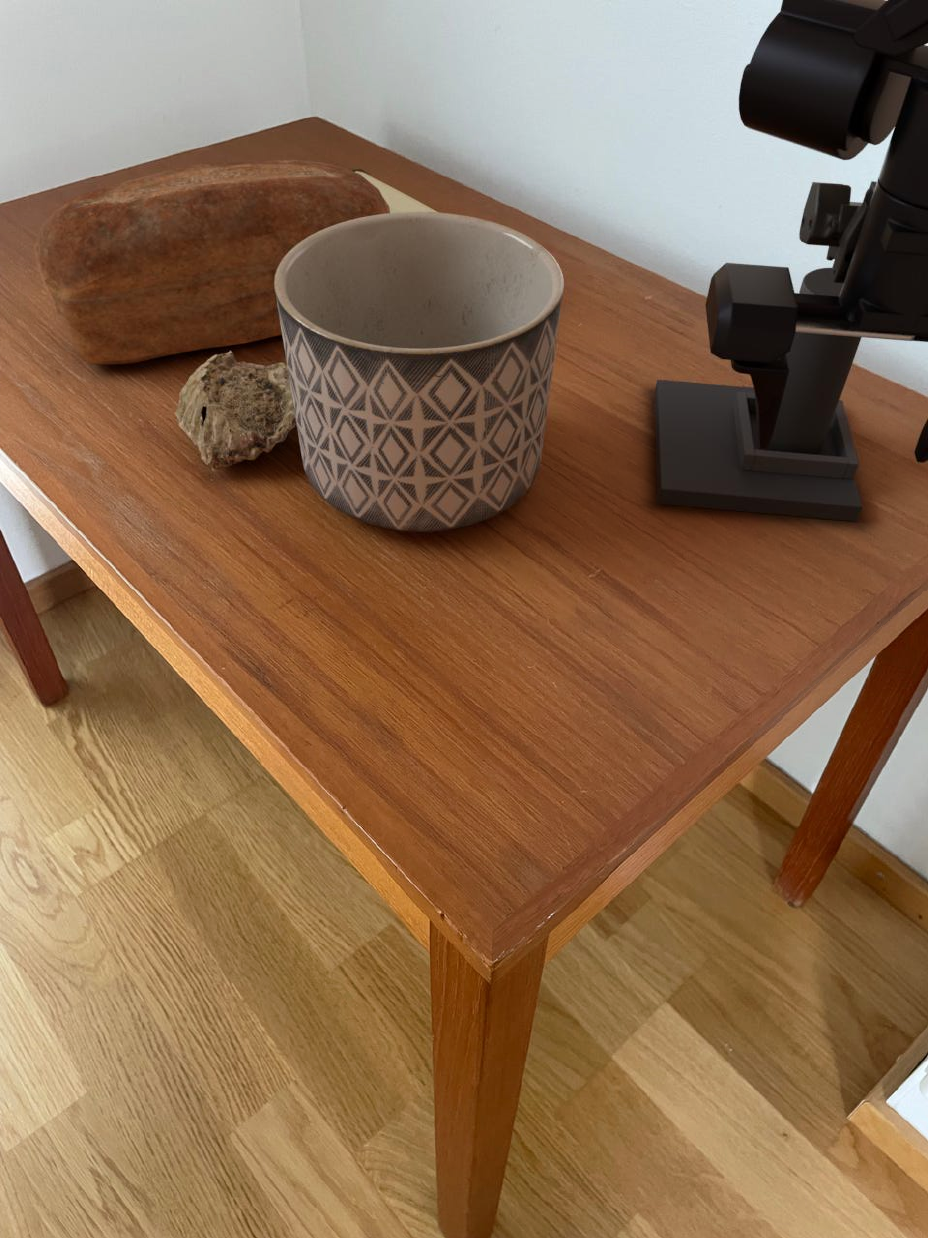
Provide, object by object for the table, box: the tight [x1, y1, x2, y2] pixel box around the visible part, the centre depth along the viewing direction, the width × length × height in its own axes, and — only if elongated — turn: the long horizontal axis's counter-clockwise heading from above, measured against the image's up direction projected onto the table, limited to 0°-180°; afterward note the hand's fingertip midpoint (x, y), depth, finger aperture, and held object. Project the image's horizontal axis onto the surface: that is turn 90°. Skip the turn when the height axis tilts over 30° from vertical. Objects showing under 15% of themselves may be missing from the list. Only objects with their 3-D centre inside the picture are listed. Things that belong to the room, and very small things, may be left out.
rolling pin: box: [347, 167, 438, 213], centre depth 99 cm, size 32×6×5 cm, turn 39°
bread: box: [33, 159, 390, 366], centre depth 86 cm, size 12×31×14 cm, turn 112°
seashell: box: [173, 350, 297, 473], centre depth 77 cm, size 11×7×10 cm
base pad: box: [654, 379, 863, 522], centre depth 78 cm, size 15×15×3 cm
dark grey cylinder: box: [765, 267, 863, 455], centre depth 73 cm, size 5×5×14 cm
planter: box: [274, 211, 565, 533], centre depth 70 cm, size 19×19×16 cm
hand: (840, 451), depth 58 cm, fingers open, 9 cm apart
